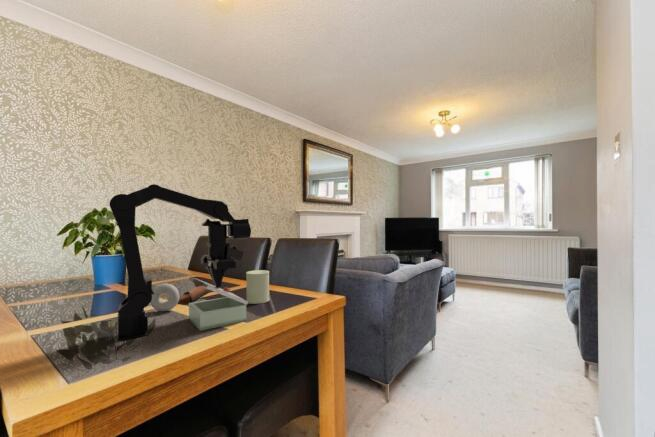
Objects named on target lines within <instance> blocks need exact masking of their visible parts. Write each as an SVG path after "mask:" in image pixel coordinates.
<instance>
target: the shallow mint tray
mask: <svg viewBox="0 0 655 437" xmlns="http://www.w3.org/2000/svg"><path fill="white" fill-rule="evenodd" d="M188 320H190V322H191V323H192V324H193V325H194V326H195V327H196V328H197V329H198V330H199V332H201V331H205V330H210V329H211V330H212V329H215V328H219V327H224V326H229V325H232V324H233V325H234V324H238V323H241V322H246V321H247V305H246V304H243V303H241V302H238V301H236V300H234V299H231V298H229V297H226V296H224V297H219V298H213V299H206V300H201V301H194V302H192V303H189V304H188Z"/></svg>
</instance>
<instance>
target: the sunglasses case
mask: <svg viewBox="0 0 655 437" xmlns="http://www.w3.org/2000/svg"><path fill="white" fill-rule="evenodd" d="M207 293H210V290H209V289H206V288H205V287H203V286H201V285H198V286H196V287H194V288H192V289H190V290H187V291H186V292H184V293H183V294H182V295H179V296H180V297H179V301H178V303H177V305H186V304H187V305H189V303H194V302H196V301H197V300H198V299H199V298H201V297H202V296H203V295H206V294H207Z"/></svg>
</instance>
